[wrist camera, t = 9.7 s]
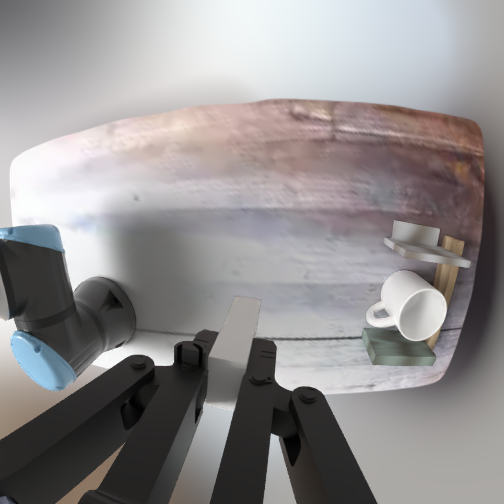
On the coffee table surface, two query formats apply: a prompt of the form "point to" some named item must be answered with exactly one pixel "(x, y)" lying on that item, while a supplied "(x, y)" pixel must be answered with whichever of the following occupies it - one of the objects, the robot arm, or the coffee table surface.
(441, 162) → the coffee table surface
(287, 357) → the coffee table surface
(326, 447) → the robot arm
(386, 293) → the mug
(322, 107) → the coffee table surface
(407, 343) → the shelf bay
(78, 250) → the coffee table surface
